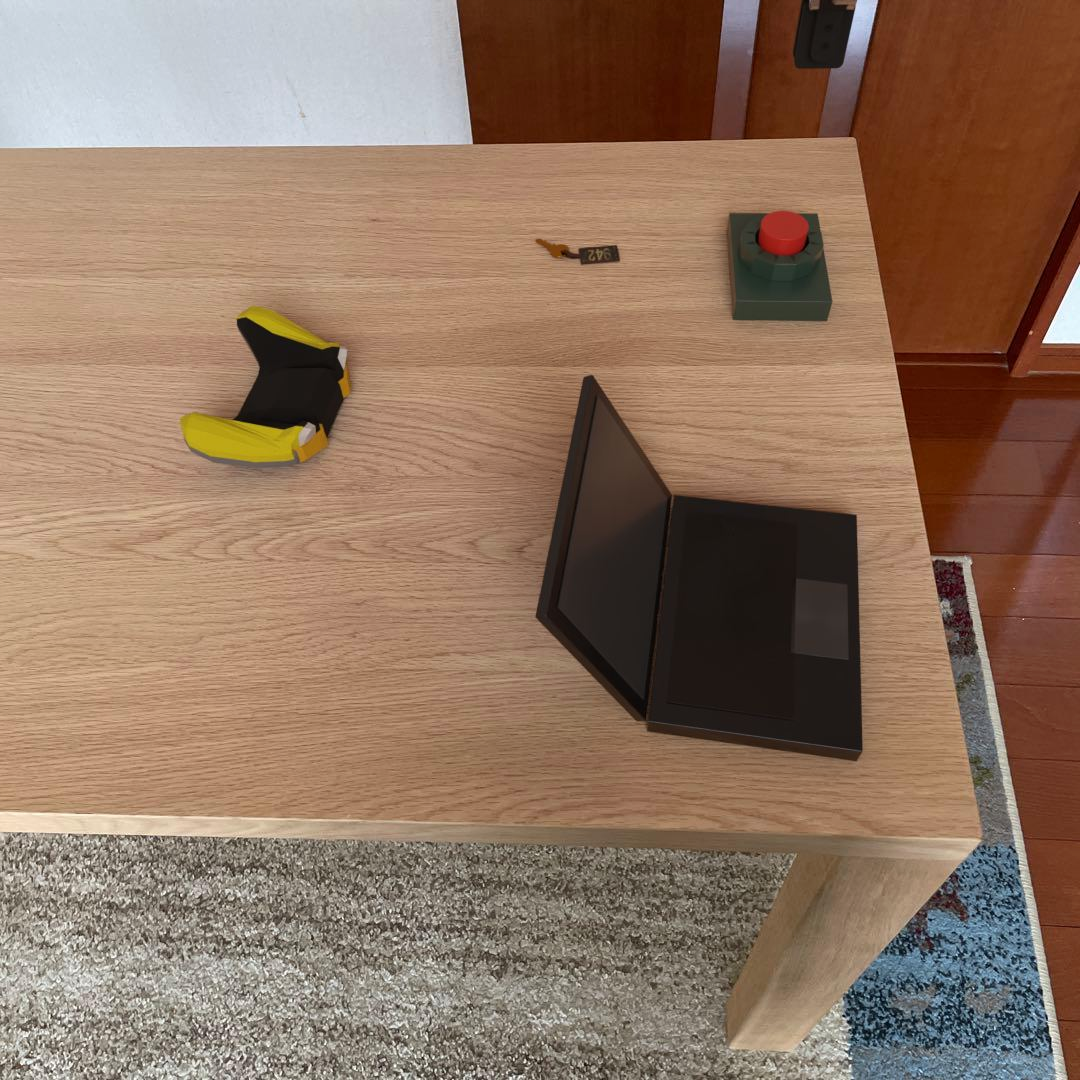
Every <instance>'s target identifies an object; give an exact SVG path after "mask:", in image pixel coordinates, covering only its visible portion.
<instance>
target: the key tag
mask: <svg viewBox="0 0 1080 1080" xmlns="http://www.w3.org/2000/svg"><path fill="white" fill-rule="evenodd" d="M535 244H538V245H540V246H542V247H544V248H546V249H547V252H549V253H550V256H551V257H553V258H557V259H558V258H568V259H572V260H577V259H579V260H580V265H591V264H603V263H604V264H605V263H615V262H621V261H620V260H621V259H620V253H619V249H618V245H617V244H615V245H600V246H587V247H580V248H578V253H574V252H571V251H570V247H569V246H568V245H566V244H561V243H559V244H556V243H552V244H551V242H547V240H543V239H542V238H535Z"/></svg>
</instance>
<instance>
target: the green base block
mask: <svg viewBox="0 0 1080 1080" xmlns="http://www.w3.org/2000/svg"><path fill="white" fill-rule="evenodd" d="M769 213H770V212H729V213H728V217H727V218H728V219H727V226H726V245H727V258H728V260H727V261H728V270H729V284H730V295H731V296H730V299H731V308H732V310H731V311H732V312H731V313H732V320H733V321H762V322H763V321H764V322H765V321H767V322H768V321H773V322H774V321H775V322H828V319H829V316H830V313H831V309H832V305H833V297H832V291H831V284H830V279H829V273H828V267H827V261H826V254H825V249H824V248H825V247H824V246H825V245H824V240H823V233H822V231H821V225H820V221H819V220H820V218H819V214H818V212H817V213H815V212H812V213H811V212H809V213H807V212H805V213H800V212H799V213H797V212H796V213H797V214H799V215H801V216H802V217H804V218H805V219H806V221H807V223H808V226H809V229H808V233H807V238H806V242H805V246H804V248H803V249H802V250H801V251H800V252H799V253H797V254H794V255H775V254H772V253H769V252H767V251H764V250H763V249H762V248H761V247H760V246H759V243H758V237H759V231H760V226H761V221H762V219H763V218H764V217H765V216H766V215H768V214H769Z"/></svg>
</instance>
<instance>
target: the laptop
mask: <svg viewBox="0 0 1080 1080" xmlns="http://www.w3.org/2000/svg"><path fill="white" fill-rule="evenodd" d="M858 545H859V544H858V515H857V514H854V513H845V512H835V511H827V510H826V511H825V510H817V509H809V508H808V509H807V508H800V507H790V506H789V507H788V506H779V505H771V504H761V503H752V502H742V501H736V500H735V501H733V500H725V499H716V498H707V497H696V496H689V495H681V494H680V495H679V494H674V495H673V497H672V505H671V514H670V522H669V531H668V540H667V549H666V551H667V552H666V558H665V566H664V568H665V569H664V575H663V584H662V593H661V595H662V596H661V601H660V602H661V603H660V604H661V605H660V610H659V619H658V621H659V622H658V628H657V629H658V630H657V636H656V645H655V654H654V656H655V657H654V663H653V664H654V665H653V672H652V680H651V682H652V683H651V689H650V690H651V691H650V698H649V699H650V700H649V707H648V708H649V709H648V715H647V717H648V718H647V726H646V732H649V733H656V734H662V735H668V736H669V735H670V736H677V737H684V738H691V739H697V740H703V741H704V740H705V741H711V742H719V743H726V744H733V745H738V746H739V745H740V746H746V747H754V748H761V749H767V750H775V751H780V752H781V751H782V752H787V753H794V754H795V753H796V754H803V755H809V756H810V755H811V756H815V757H824V758H829V759H837V760H845V761H851V762H857V761H858V760H859V758H860V757H861V755H862V753H863V752H864V749H863V748H864V746H863V705H862V704H863V701H862V665H861V664H862V663H861V629H860V628H861V626H860V624H861V623H860V588H859V587H860V586H859V550H858V549H859V546H858Z"/></svg>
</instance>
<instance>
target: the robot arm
mask: <svg viewBox="0 0 1080 1080" xmlns="http://www.w3.org/2000/svg"><path fill="white" fill-rule="evenodd" d="M857 2H858V0H800V6H799V13H798V19H797V25H796V31H795V36H794V40H793V41H794V42H793V48H792V57H793V62H794V66H795V68H796V69H799V70H801V69H805V70H807V69H808V70H809V69H811V70H812V69H814V70H816V69H817V70H819V69H820V70H821V69H822V70H823V69H839V68H841V67H842V66H843V65H844V62H845V58H846V54H847V48H848V43H849V39H850V35H851V31H852V27H853V21H854V16H855V13H856V9H857V8H856V7H857Z"/></svg>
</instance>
